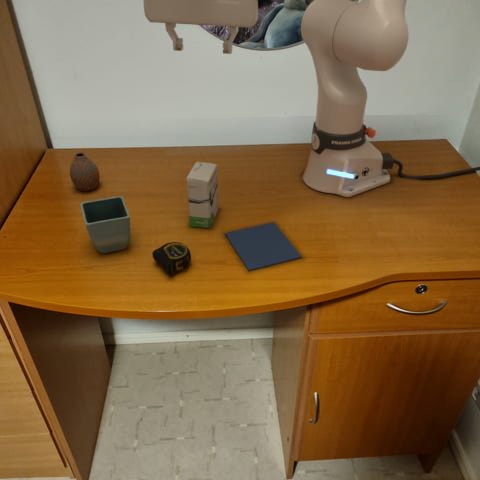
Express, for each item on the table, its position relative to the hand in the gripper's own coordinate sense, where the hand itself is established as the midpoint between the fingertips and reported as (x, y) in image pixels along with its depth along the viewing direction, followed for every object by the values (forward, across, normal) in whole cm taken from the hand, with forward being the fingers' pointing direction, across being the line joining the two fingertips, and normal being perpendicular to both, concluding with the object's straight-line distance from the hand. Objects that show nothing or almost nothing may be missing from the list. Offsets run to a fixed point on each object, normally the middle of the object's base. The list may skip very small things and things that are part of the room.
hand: (202, 51), depth 90 cm
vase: (+34, +33, -5) cm, 48 cm away
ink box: (+34, 0, +3) cm, 34 cm away
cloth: (+34, -14, +12) cm, 39 cm away
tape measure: (+34, +3, +22) cm, 41 cm away
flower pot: (+34, +18, +17) cm, 42 cm away
